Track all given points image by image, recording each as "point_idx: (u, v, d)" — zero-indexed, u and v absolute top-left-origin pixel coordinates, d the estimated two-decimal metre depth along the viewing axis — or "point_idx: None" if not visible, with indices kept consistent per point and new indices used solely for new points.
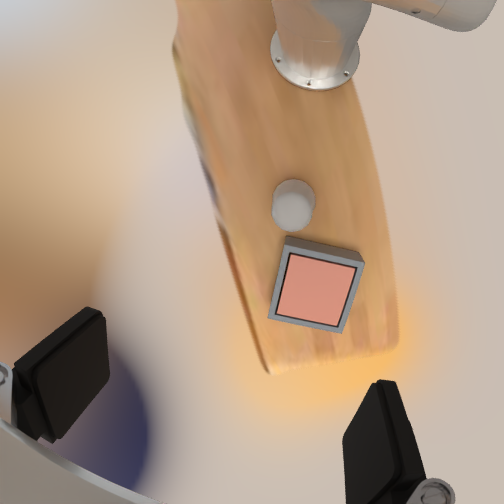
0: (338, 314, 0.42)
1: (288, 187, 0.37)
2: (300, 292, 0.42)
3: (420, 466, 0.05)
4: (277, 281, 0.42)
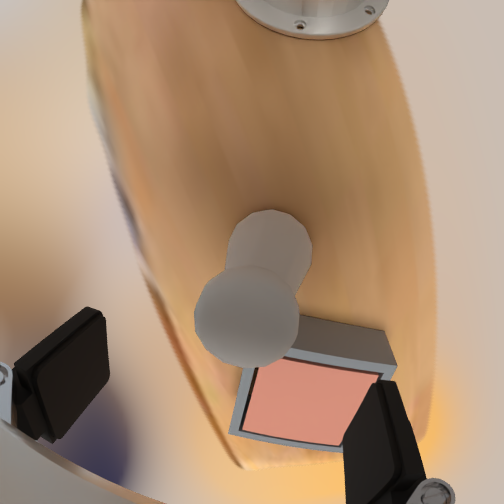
0: (342, 433, 0.23)
1: (252, 236, 0.17)
2: (279, 407, 0.22)
3: (420, 466, 0.05)
4: (240, 391, 0.22)
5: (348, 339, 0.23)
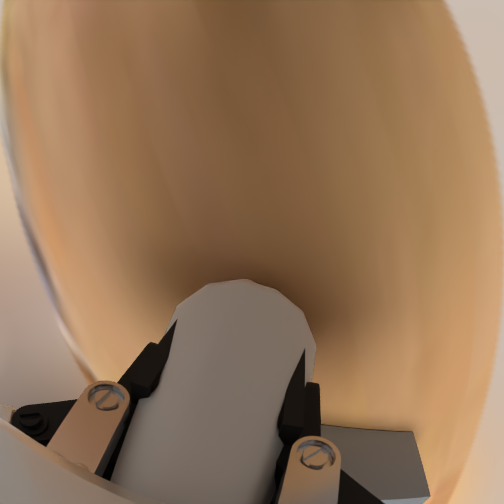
0: None
1: (183, 370, 0.07)
2: None
3: (301, 420, 0.07)
4: None
5: (363, 460, 0.12)
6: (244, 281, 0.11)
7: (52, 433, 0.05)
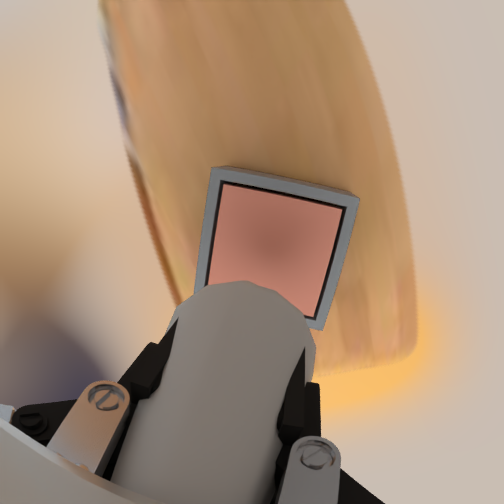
0: (315, 296, 0.24)
1: (182, 372, 0.07)
2: (243, 254, 0.24)
3: (301, 420, 0.07)
4: (203, 234, 0.24)
5: (309, 184, 0.24)
6: (243, 283, 0.11)
7: (52, 433, 0.05)
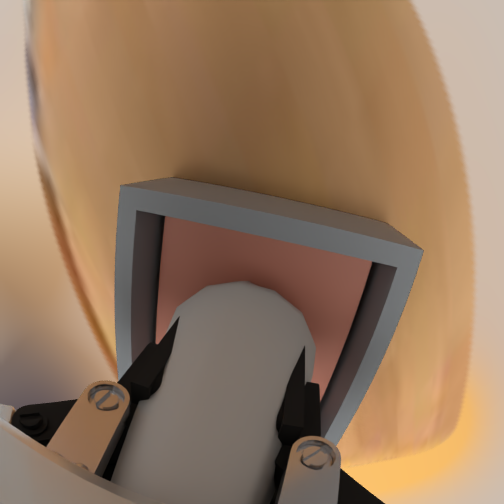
0: (320, 387, 0.14)
1: (182, 372, 0.07)
2: None
3: (301, 420, 0.07)
4: (118, 311, 0.12)
5: (319, 213, 0.12)
6: (243, 283, 0.11)
7: (52, 433, 0.05)
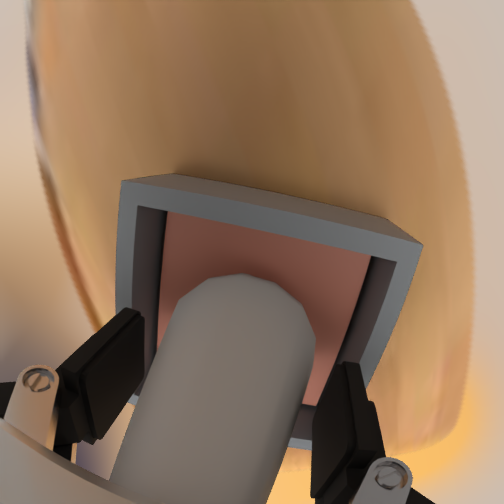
0: (320, 380, 0.14)
1: (185, 360, 0.07)
2: None
3: (374, 443, 0.06)
4: (118, 306, 0.12)
5: (319, 208, 0.12)
6: (244, 275, 0.11)
7: None
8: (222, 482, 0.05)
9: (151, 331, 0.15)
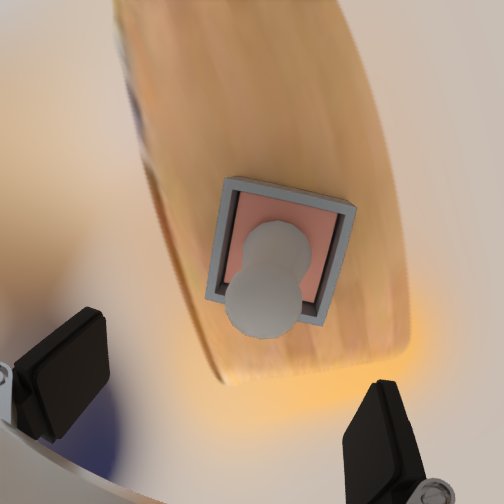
0: (315, 285, 0.29)
1: (264, 241, 0.22)
2: None
3: (420, 466, 0.05)
4: (216, 238, 0.27)
5: (312, 193, 0.27)
6: None
7: None
8: (284, 266, 0.19)
9: (224, 258, 0.29)
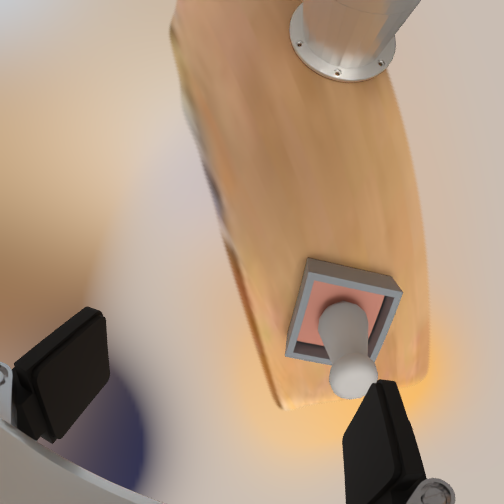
0: None
1: (344, 327, 0.29)
2: None
3: (420, 466, 0.05)
4: (298, 315, 0.34)
5: (369, 277, 0.34)
6: (347, 302, 0.33)
7: None
8: (362, 350, 0.26)
9: None
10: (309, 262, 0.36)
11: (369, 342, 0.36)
